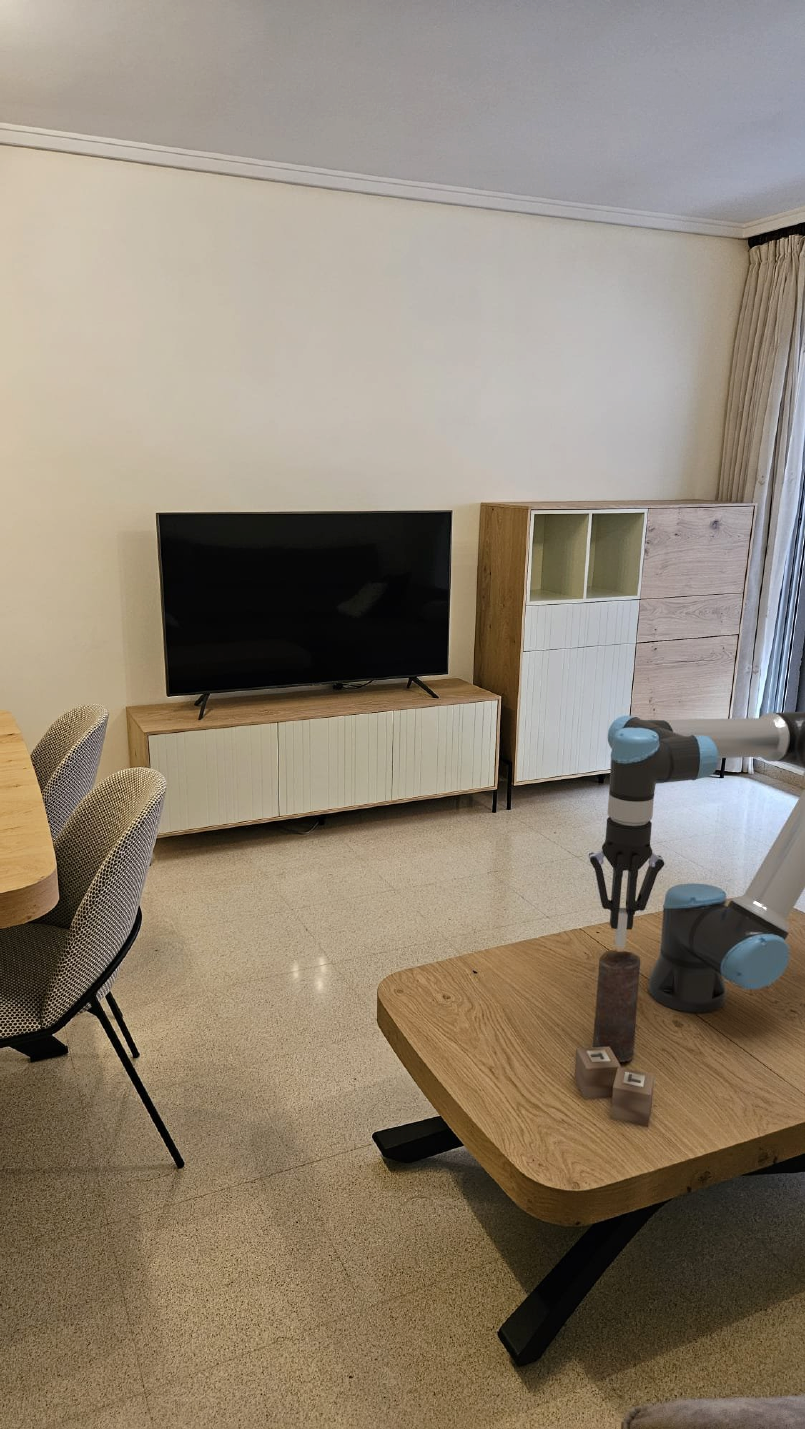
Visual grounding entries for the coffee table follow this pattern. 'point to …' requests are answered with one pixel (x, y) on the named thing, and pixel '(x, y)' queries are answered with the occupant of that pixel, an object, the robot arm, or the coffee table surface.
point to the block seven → (632, 1096)
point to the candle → (617, 1003)
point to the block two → (595, 1072)
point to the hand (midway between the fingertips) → (619, 944)
